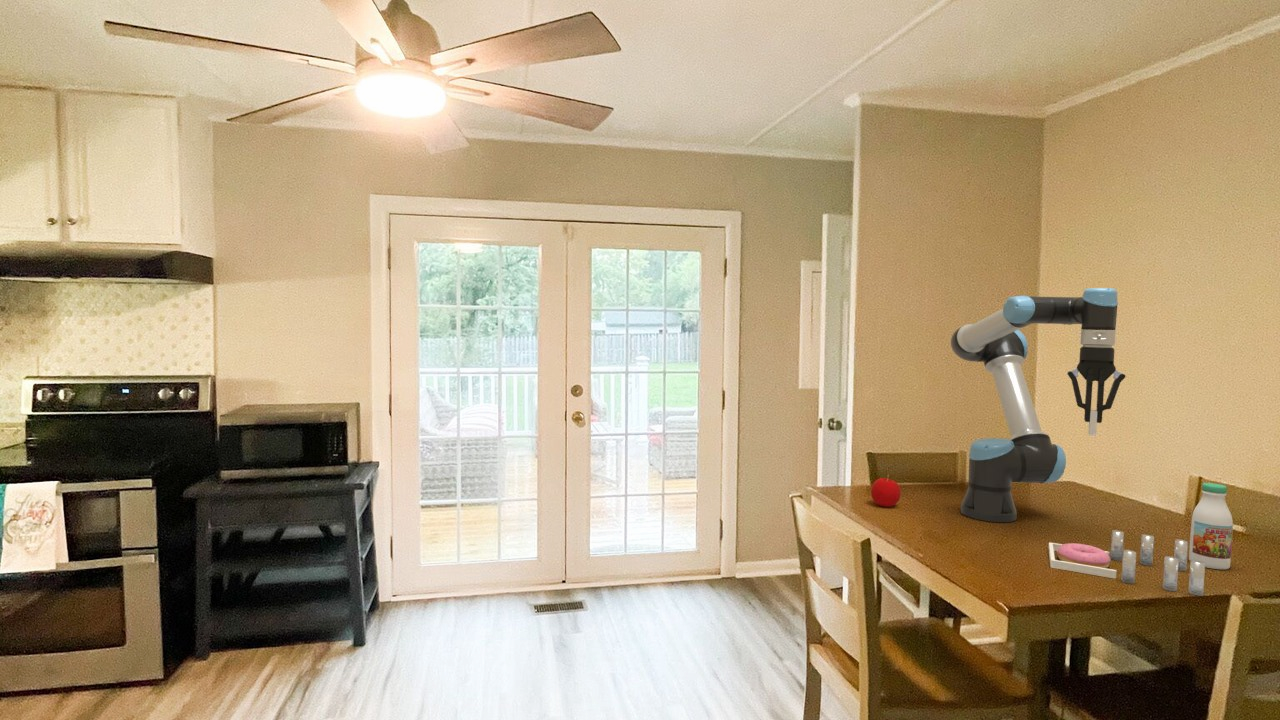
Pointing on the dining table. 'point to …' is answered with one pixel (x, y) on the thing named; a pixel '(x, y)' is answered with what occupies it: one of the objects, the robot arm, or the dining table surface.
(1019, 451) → the robot arm
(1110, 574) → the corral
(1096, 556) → the doughnut
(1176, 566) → the spacers
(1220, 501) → the milk bottle
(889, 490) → the fruit
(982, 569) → the dining table surface
